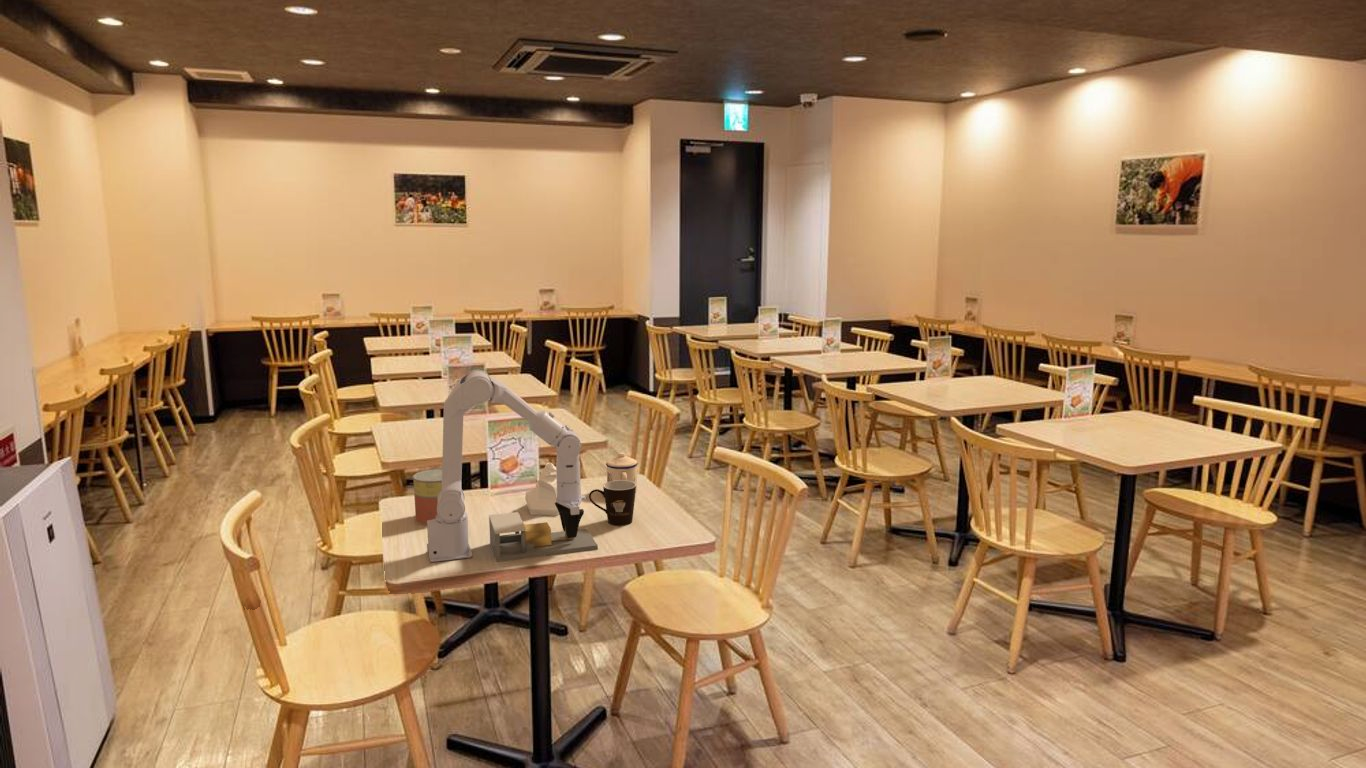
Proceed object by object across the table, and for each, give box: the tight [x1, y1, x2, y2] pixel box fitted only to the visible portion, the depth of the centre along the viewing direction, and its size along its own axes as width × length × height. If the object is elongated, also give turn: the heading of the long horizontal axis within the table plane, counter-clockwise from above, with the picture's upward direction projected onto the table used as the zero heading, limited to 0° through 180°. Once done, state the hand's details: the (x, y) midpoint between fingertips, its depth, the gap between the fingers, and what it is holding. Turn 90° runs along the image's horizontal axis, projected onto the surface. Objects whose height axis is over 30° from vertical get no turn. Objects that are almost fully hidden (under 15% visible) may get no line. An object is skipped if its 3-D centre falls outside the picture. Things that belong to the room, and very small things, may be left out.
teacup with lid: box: [605, 452, 638, 494], centre depth 248 cm, size 12×9×12 cm
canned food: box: [412, 468, 442, 527], centre depth 226 cm, size 11×11×12 cm
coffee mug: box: [588, 480, 637, 527], centre depth 225 cm, size 12×9×10 cm
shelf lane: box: [488, 511, 599, 562], centre depth 207 cm, size 24×12×7 cm, turn 109°
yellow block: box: [524, 522, 574, 547], centre depth 208 cm, size 12×5×5 cm, turn 109°
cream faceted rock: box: [524, 462, 560, 516], centre depth 234 cm, size 12×15×14 cm
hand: (569, 533), depth 209 cm, fingers open, 4 cm apart
